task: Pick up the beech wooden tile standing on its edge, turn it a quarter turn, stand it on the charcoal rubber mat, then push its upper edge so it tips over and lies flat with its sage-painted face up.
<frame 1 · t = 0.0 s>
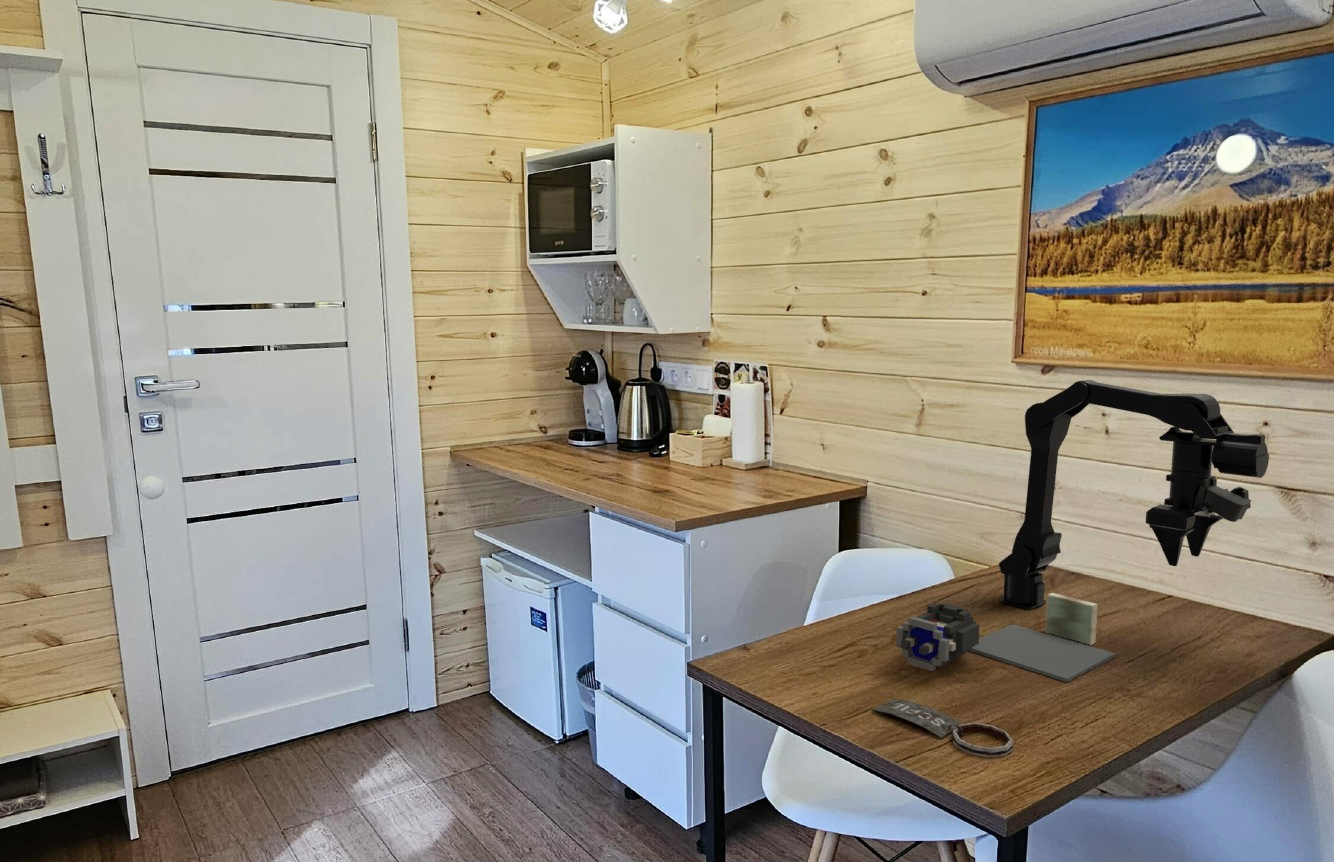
hand: (1184, 560, 149), 15 cm above the table, tool pointing down, fingers open, 9 cm apart
toy: (936, 665, 143), on the table
keychain: (943, 733, 121), on the table
mat: (1037, 652, 147), on the table
tile: (1069, 637, 154), on the table
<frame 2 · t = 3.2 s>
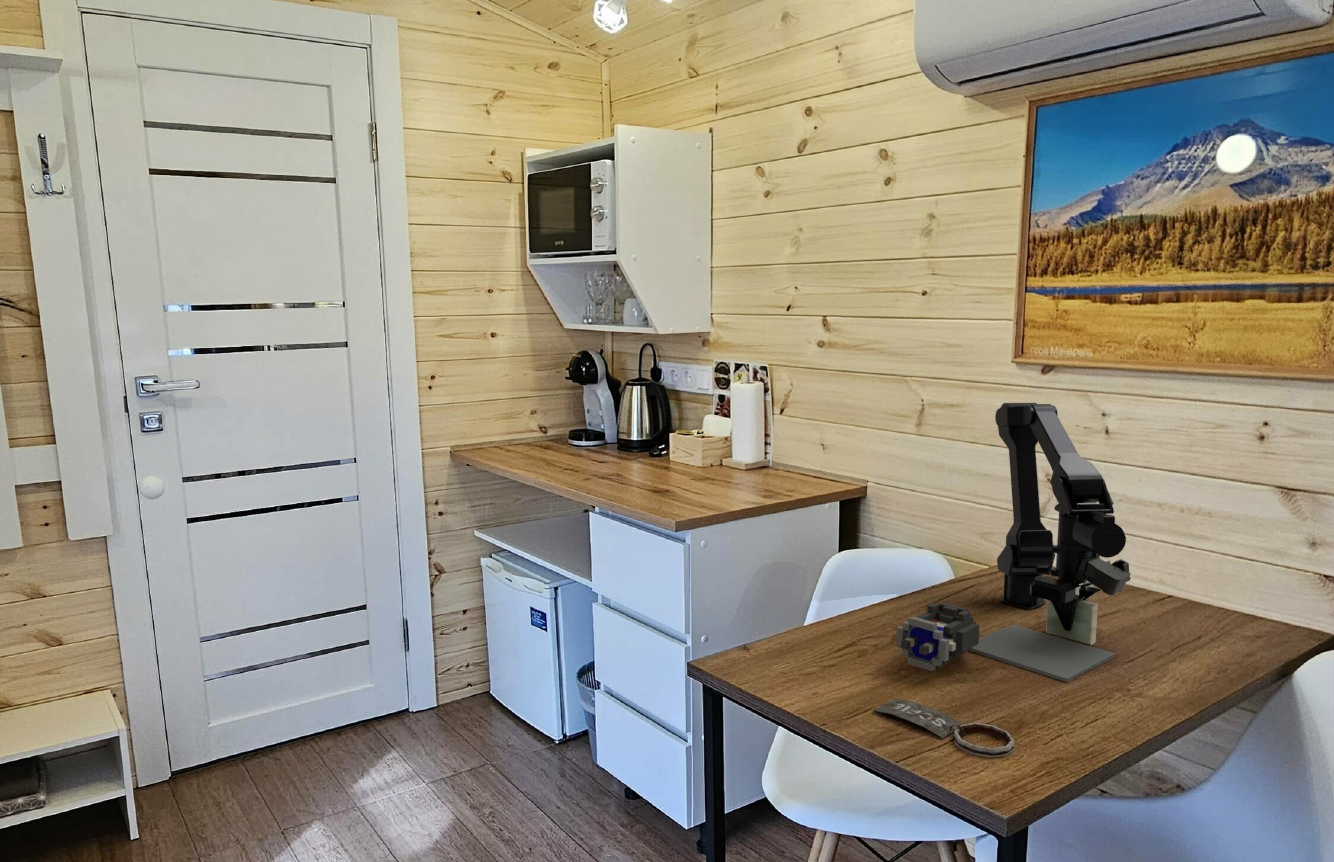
hand: (1070, 629, 154), 2 cm above the table, tool pointing down, fingers closed on tile, 2 cm apart
tile: (1070, 637, 154), on the table, touching gripper
everything else where it was.
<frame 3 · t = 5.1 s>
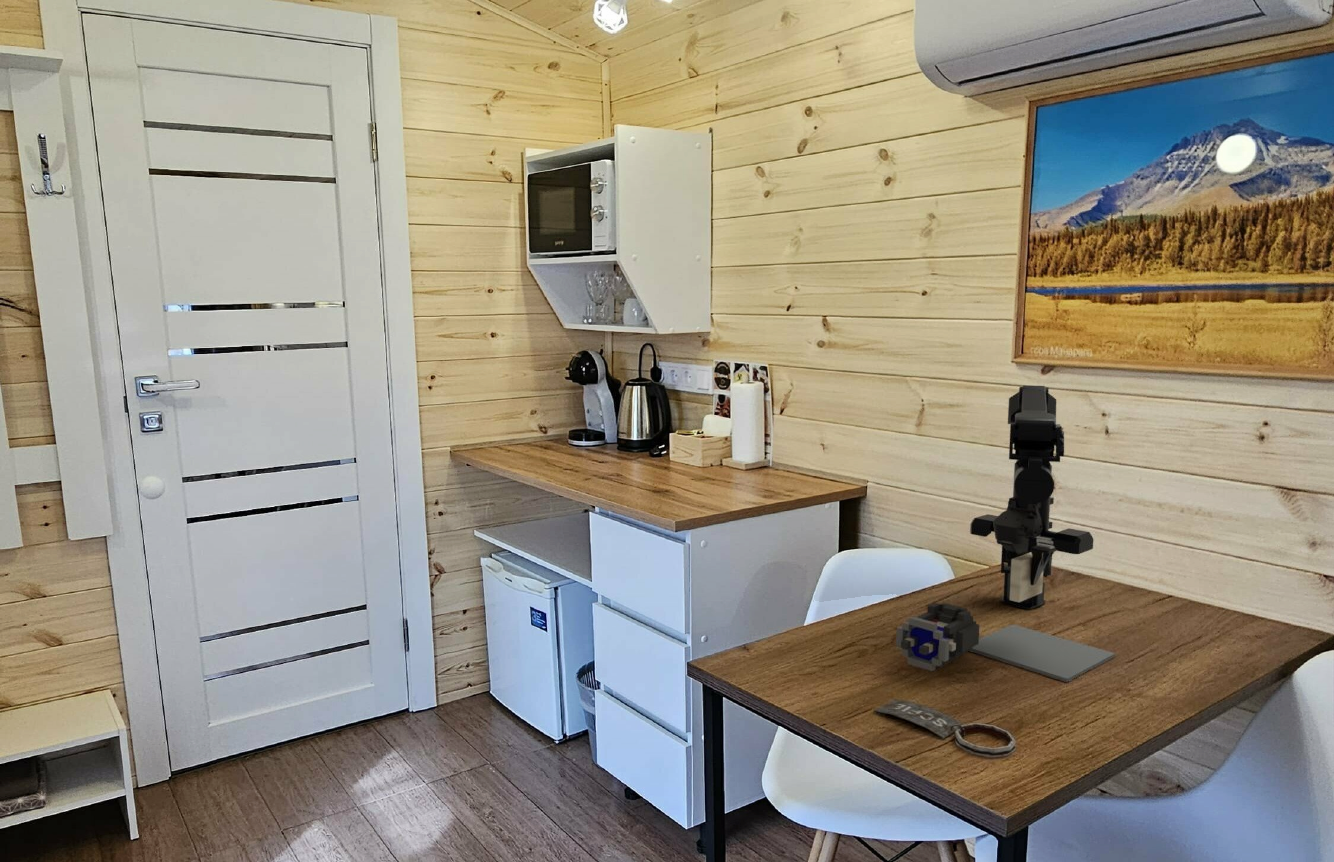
hand: (1027, 583, 148), 11 cm above the table, tool pointing down, fingers closed on tile
tile: (1026, 596, 148), point 9 cm above the table, touching gripper
everything else where it was.
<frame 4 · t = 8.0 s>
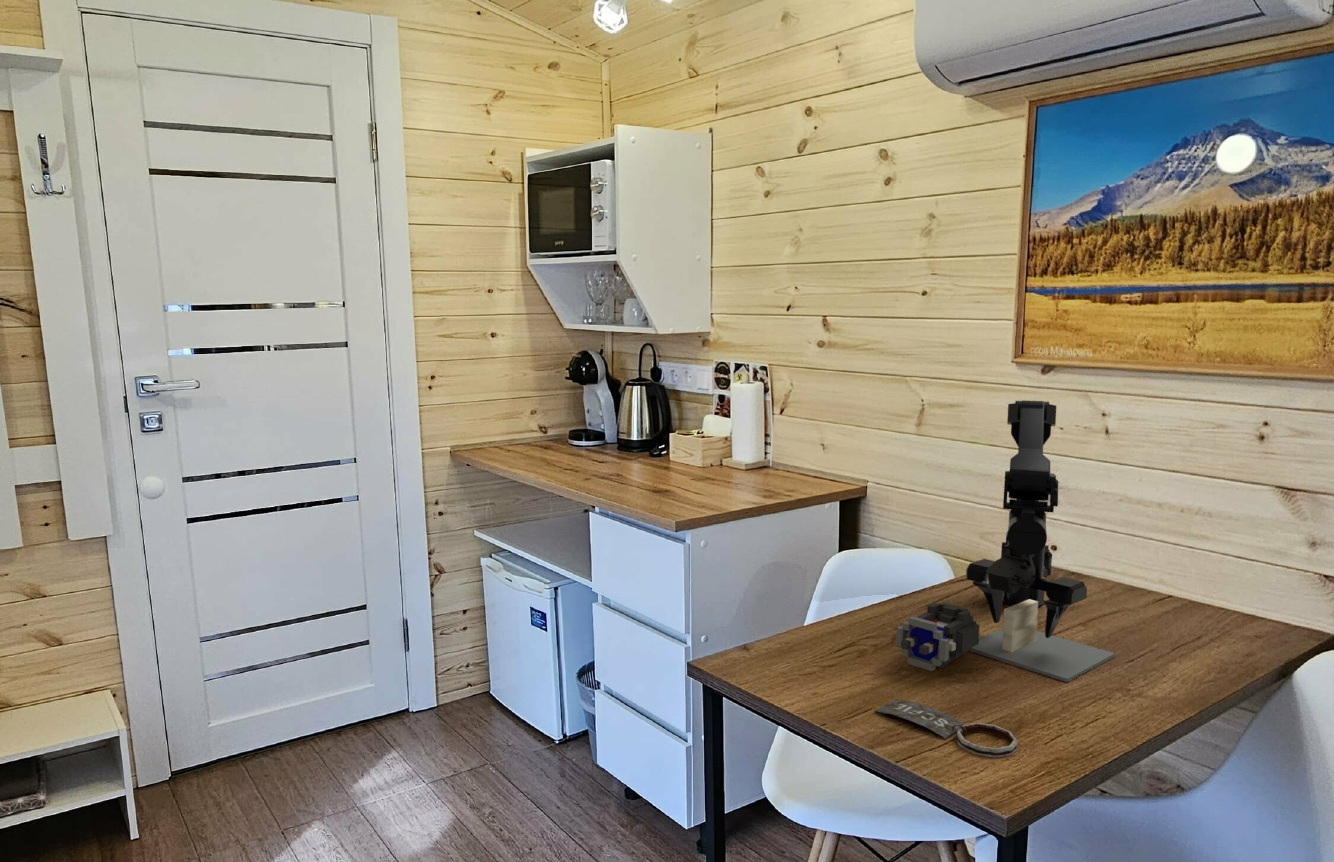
hand: (1021, 629, 149), 3 cm above the table, tool pointing down, fingers open, 9 cm apart
tile: (1019, 645, 149), point 1 cm above the table, touching mat
everything else where it was.
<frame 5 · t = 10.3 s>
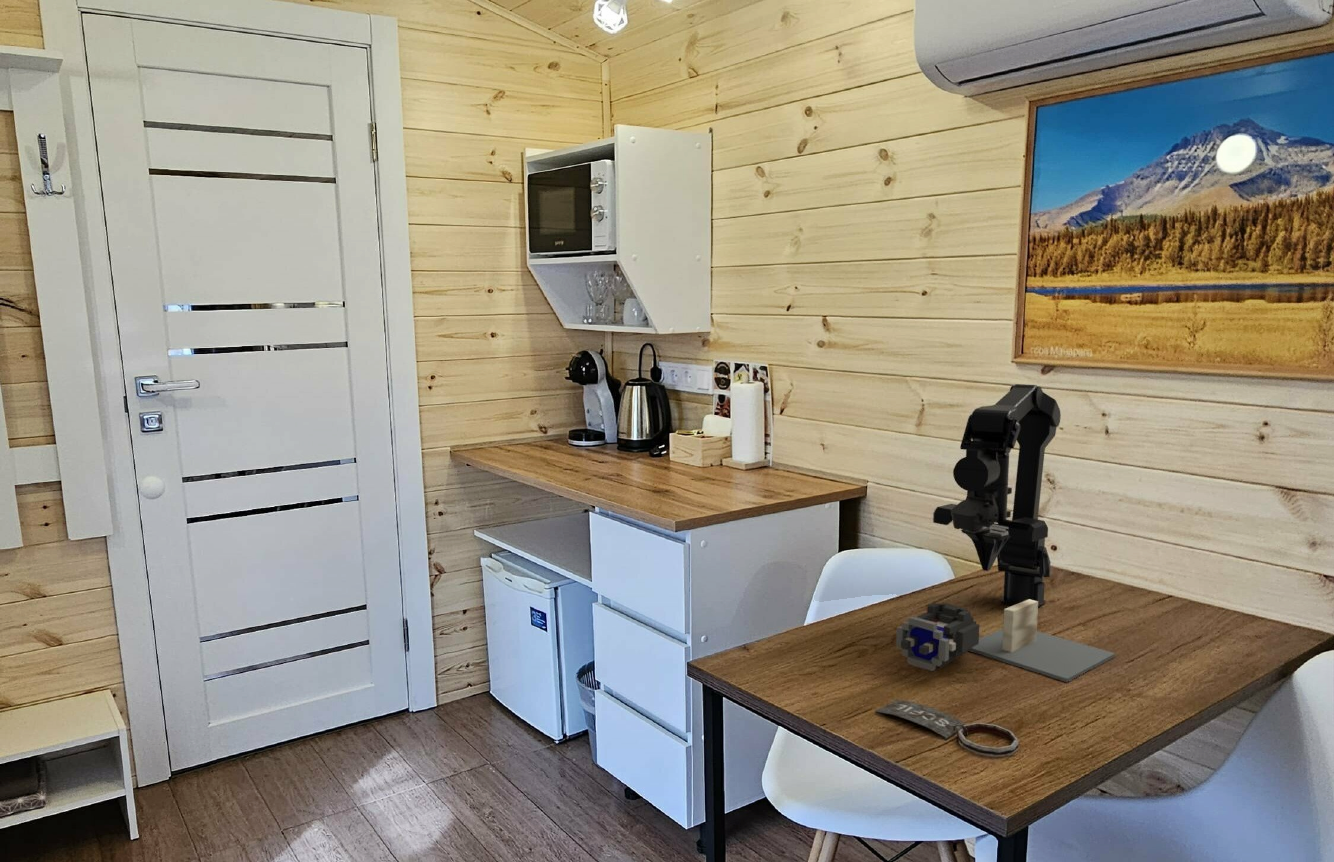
hand: (986, 570, 153), 12 cm above the table, tool pointing down, fingers closed
nothing on the table moved.
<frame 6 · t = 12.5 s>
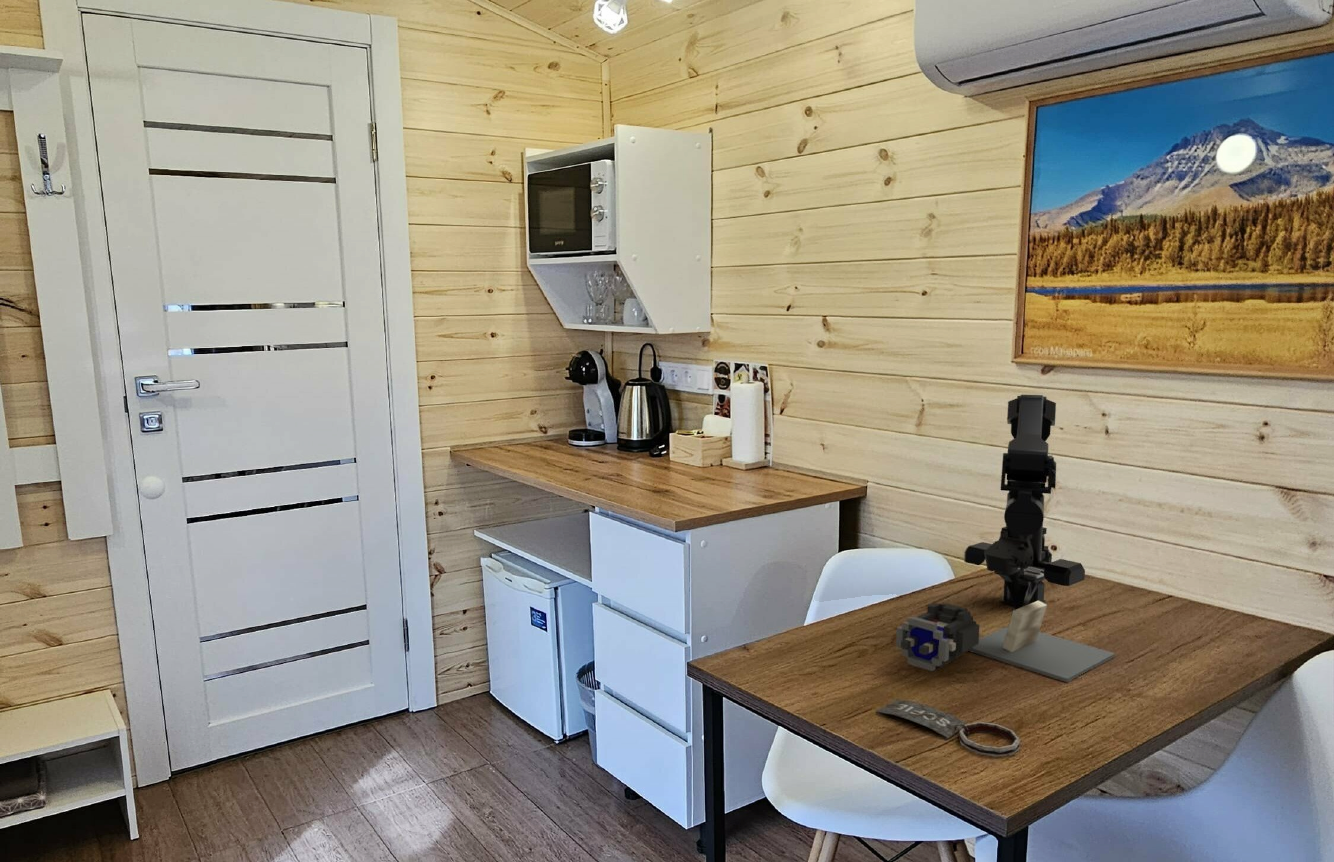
hand: (1019, 612, 149), 6 cm above the table, tool pointing down, fingers closed
tile: (1019, 644, 149), point 1 cm above the table, tilted 13°, touching gripper, mat
everything else where it was.
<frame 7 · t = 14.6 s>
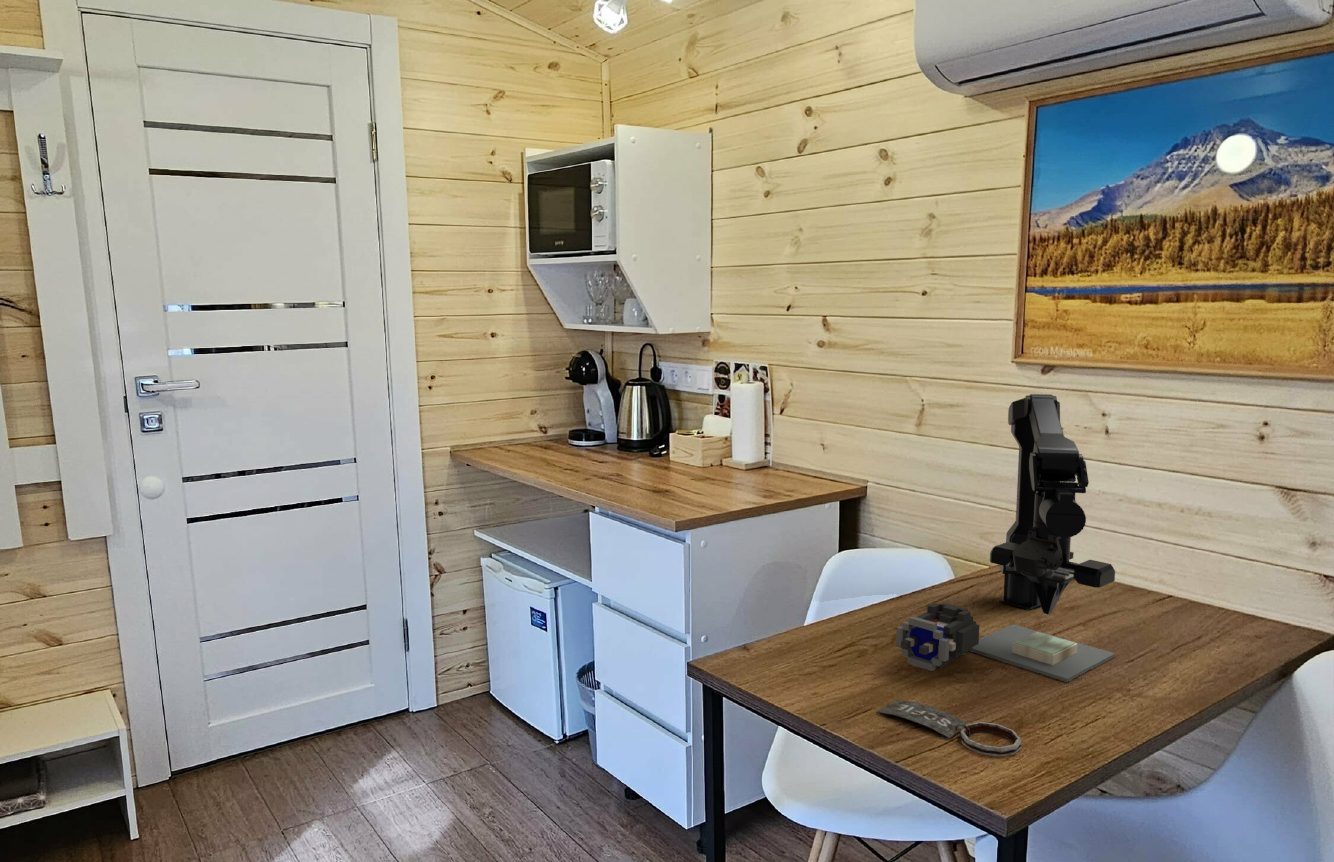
hand: (1047, 613, 147), 7 cm above the table, tool pointing down, fingers closed
tile: (1024, 642, 148), point 1 cm above the table, tilted 90°, touching mat
everything else where it was.
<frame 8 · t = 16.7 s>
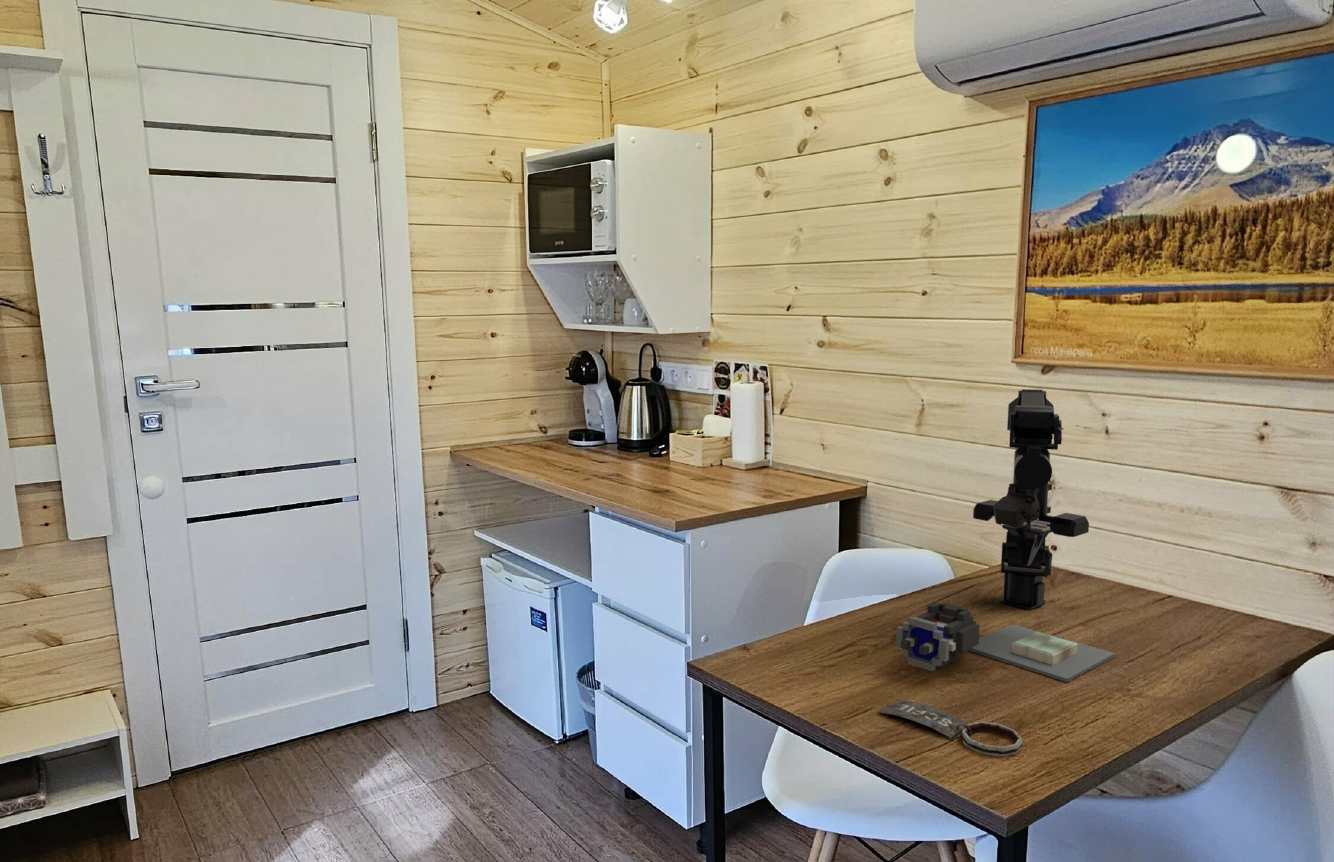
hand: (1026, 565, 156), 12 cm above the table, tool pointing down, fingers closed
nothing on the table moved.
at the end: tile tilted 90°; tile inside the target area (2.7 cm from its centre), point 1.4 cm above the table; the gripper is holding nothing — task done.
